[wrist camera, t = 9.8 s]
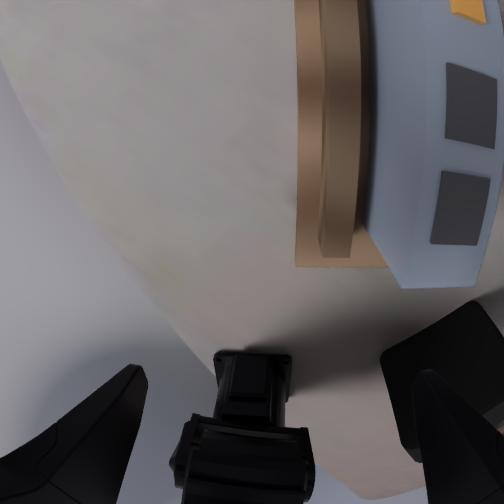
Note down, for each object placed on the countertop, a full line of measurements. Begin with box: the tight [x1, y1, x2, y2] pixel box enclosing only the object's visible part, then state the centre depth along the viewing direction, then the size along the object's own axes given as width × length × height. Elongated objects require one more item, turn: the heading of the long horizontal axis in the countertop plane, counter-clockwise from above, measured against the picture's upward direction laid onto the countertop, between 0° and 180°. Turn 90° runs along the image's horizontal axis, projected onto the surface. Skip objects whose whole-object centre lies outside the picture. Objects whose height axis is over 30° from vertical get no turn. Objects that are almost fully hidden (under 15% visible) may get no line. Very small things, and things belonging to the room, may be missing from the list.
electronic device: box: [380, 301, 504, 463], centre depth 18 cm, size 4×10×10 cm, turn 126°
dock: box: [294, 0, 389, 268], centre depth 13 cm, size 20×12×4 cm, turn 2°
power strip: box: [362, 0, 504, 289], centre depth 11 cm, size 14×4×7 cm, turn 2°
